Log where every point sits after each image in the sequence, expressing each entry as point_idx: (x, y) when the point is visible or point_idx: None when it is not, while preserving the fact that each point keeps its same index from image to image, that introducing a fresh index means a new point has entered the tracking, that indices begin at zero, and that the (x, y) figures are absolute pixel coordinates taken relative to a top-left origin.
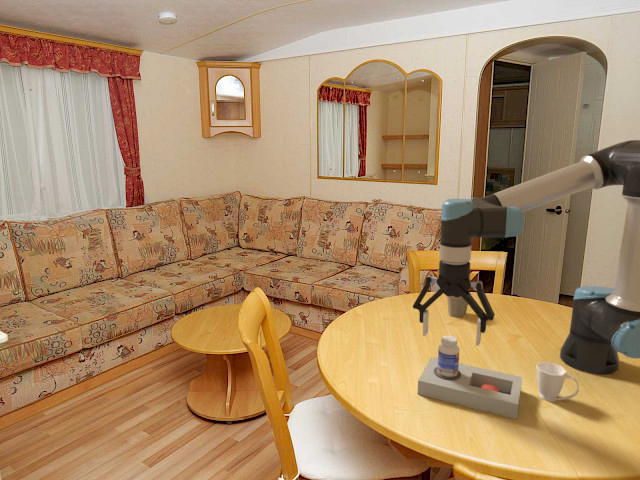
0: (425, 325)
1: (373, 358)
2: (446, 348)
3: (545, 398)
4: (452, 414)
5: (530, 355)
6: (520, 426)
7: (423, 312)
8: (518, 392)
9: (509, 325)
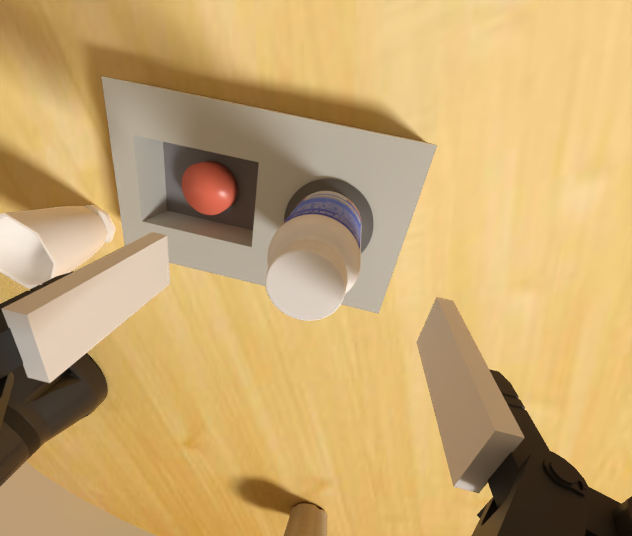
0: (458, 342)
1: (554, 325)
2: (321, 239)
3: (96, 209)
4: (314, 43)
5: (157, 381)
6: (126, 45)
7: (514, 448)
8: (116, 157)
9: (208, 476)
